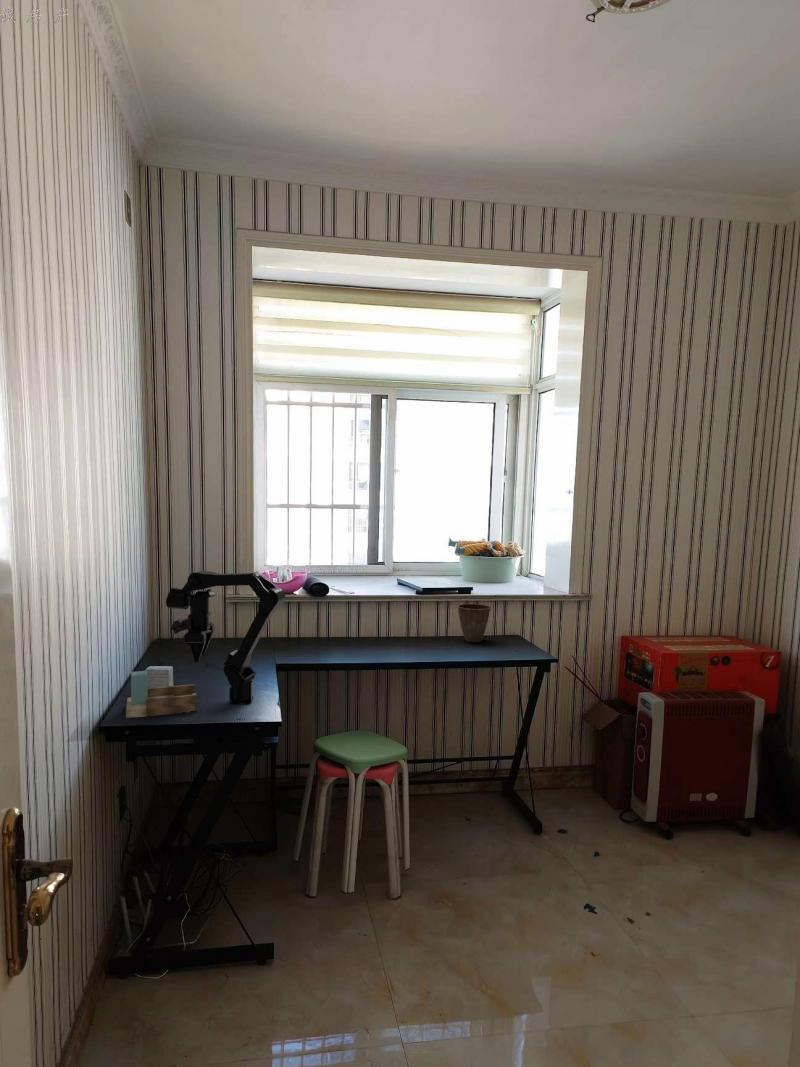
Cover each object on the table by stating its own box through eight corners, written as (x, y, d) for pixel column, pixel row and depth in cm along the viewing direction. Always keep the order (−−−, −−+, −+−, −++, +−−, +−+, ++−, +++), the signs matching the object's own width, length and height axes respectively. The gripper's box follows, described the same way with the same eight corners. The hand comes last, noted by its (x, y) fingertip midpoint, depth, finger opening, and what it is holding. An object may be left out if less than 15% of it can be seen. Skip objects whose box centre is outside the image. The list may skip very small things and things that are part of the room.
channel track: (195, 699, 210) (195, 684, 210) (197, 711, 199) (197, 695, 199) (127, 705, 203) (127, 689, 203) (126, 718, 192) (125, 701, 192)
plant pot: (453, 637, 309) (454, 603, 308) (483, 636, 312) (484, 603, 311) (461, 644, 295) (462, 609, 294) (493, 644, 297) (494, 609, 296)
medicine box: (173, 691, 218) (173, 666, 218) (169, 695, 214) (169, 669, 213) (149, 691, 218) (149, 665, 218) (144, 695, 214) (144, 669, 213)
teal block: (147, 699, 202) (147, 670, 201) (147, 704, 198) (147, 674, 197) (131, 700, 200) (131, 671, 200) (131, 705, 196) (131, 675, 195)
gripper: (180, 605, 219) (180, 651, 220) (166, 615, 201) (166, 665, 202) (214, 605, 220) (214, 651, 221) (203, 615, 202) (203, 665, 203)
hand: (199, 658), depth 212 cm, fingers open, 9 cm apart
